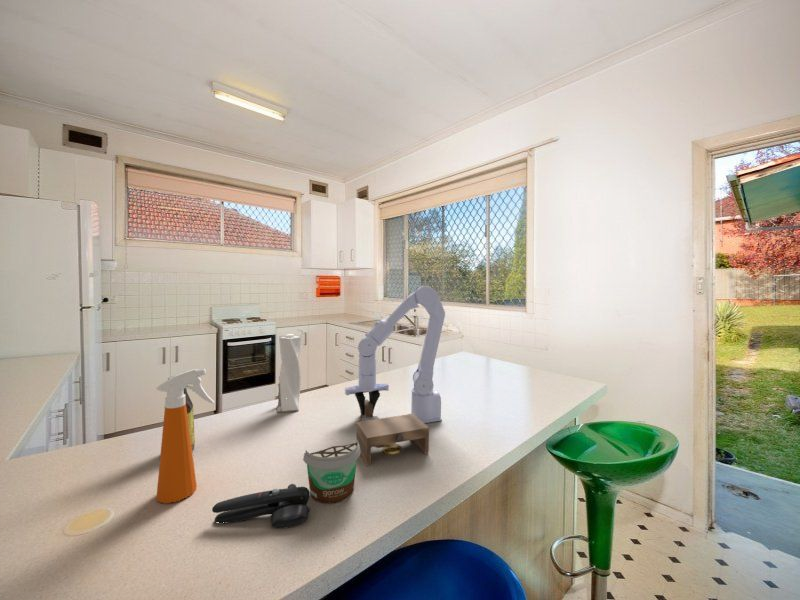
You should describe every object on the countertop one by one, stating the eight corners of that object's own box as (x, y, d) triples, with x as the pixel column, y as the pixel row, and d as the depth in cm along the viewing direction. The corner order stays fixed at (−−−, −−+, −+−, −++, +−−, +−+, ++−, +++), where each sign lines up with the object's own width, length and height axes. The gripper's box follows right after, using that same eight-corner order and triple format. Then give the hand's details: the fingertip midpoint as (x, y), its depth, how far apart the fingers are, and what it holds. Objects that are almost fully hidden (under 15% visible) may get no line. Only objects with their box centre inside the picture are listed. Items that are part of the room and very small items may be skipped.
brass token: (396, 445, 93) (396, 441, 93) (403, 454, 89) (404, 449, 88) (379, 448, 91) (380, 444, 91) (386, 457, 87) (386, 453, 87)
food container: (309, 515, 64) (309, 464, 64) (302, 496, 70) (303, 450, 69) (368, 497, 70) (369, 450, 70) (358, 481, 76) (358, 438, 75)
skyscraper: (302, 403, 123) (302, 328, 122) (303, 411, 115) (303, 331, 114) (277, 405, 120) (277, 328, 119) (277, 414, 113) (276, 332, 111)
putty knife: (371, 413, 115) (371, 399, 115) (395, 442, 94) (395, 425, 94) (357, 415, 113) (357, 400, 113) (378, 445, 92) (378, 427, 92)
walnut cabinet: (412, 437, 98) (413, 413, 97) (429, 454, 88) (430, 428, 87) (356, 447, 91) (356, 422, 91) (367, 467, 81) (368, 439, 81)
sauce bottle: (200, 448, 89) (199, 375, 88) (178, 459, 83) (176, 381, 82) (182, 444, 91) (181, 372, 90) (159, 455, 86) (157, 378, 84)
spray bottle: (211, 497, 69) (209, 372, 68) (150, 507, 66) (147, 375, 65) (219, 478, 76) (217, 363, 74) (164, 486, 73) (161, 366, 71)
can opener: (313, 504, 68) (313, 477, 68) (307, 529, 61) (307, 499, 61) (221, 509, 66) (220, 481, 66) (204, 536, 59) (204, 505, 59)
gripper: (383, 368, 117) (383, 406, 118) (342, 372, 111) (342, 412, 112) (391, 373, 110) (390, 414, 111) (347, 377, 105) (347, 420, 105)
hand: (366, 413), depth 111 cm, fingers closed on putty knife, 2 cm apart
